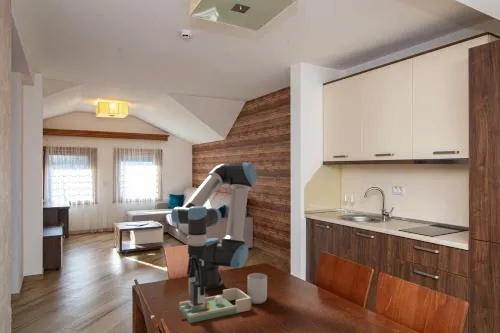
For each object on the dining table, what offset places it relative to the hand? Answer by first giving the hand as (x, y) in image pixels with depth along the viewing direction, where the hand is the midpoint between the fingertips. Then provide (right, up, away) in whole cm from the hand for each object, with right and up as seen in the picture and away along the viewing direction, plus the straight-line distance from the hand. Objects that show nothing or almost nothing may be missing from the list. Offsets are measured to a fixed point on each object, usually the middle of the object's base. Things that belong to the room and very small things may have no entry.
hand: (196, 297), depth 138 cm
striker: (-1, -4, -1) cm, 4 cm away
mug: (+26, -7, +16) cm, 31 cm away
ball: (+9, -3, +5) cm, 10 cm away
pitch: (+7, -7, +4) cm, 11 cm away
